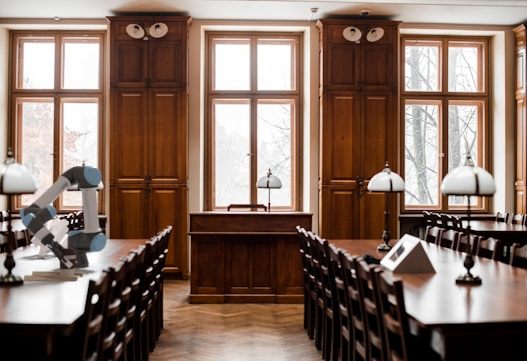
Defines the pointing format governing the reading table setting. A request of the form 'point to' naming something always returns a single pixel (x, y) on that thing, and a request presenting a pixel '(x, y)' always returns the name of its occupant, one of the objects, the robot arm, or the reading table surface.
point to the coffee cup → (71, 256)
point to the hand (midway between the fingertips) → (73, 265)
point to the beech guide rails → (52, 276)
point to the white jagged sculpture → (58, 231)
